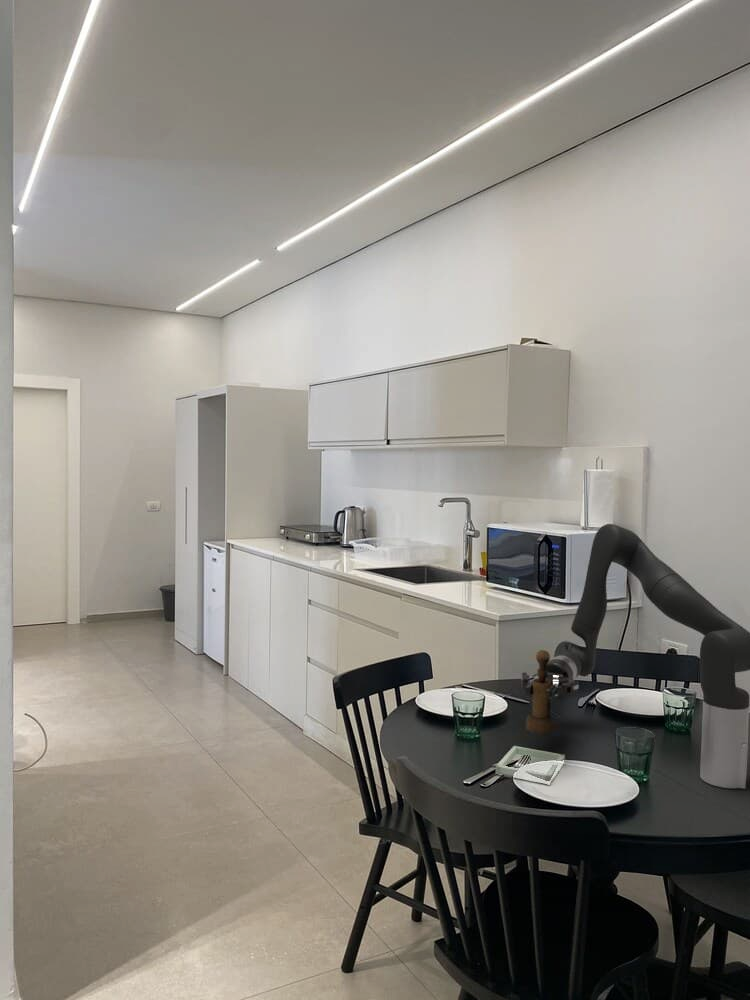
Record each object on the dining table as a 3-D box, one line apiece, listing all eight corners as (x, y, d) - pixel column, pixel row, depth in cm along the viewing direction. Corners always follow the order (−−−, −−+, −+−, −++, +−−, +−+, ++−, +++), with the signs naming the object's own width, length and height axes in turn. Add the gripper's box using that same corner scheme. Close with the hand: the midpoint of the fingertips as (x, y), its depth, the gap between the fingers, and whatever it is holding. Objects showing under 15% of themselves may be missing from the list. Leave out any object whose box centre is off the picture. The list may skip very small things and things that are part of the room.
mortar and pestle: (520, 728, 183) (522, 650, 181) (536, 721, 187) (538, 645, 186) (545, 736, 178) (548, 656, 177) (561, 729, 183) (563, 650, 181)
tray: (564, 763, 185) (564, 754, 185) (549, 785, 173) (549, 776, 173) (513, 754, 191) (514, 745, 191) (495, 774, 178) (495, 765, 178)
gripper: (529, 654, 198) (507, 672, 182) (588, 662, 191) (570, 681, 176) (528, 685, 198) (506, 704, 183) (587, 693, 192) (569, 715, 177)
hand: (538, 693), depth 180 cm, fingers closed on mortar and pestle, 4 cm apart
